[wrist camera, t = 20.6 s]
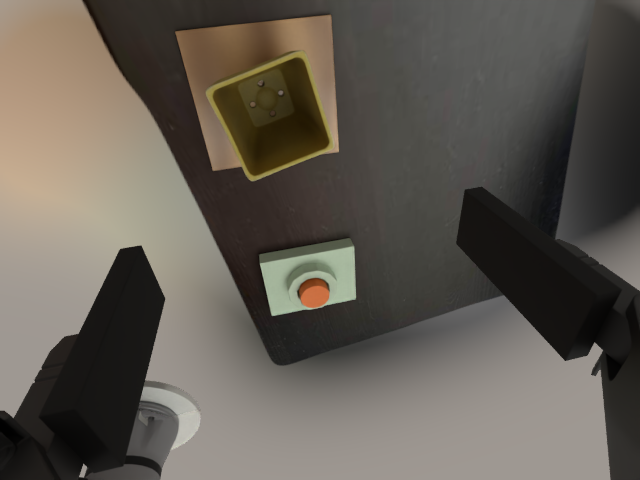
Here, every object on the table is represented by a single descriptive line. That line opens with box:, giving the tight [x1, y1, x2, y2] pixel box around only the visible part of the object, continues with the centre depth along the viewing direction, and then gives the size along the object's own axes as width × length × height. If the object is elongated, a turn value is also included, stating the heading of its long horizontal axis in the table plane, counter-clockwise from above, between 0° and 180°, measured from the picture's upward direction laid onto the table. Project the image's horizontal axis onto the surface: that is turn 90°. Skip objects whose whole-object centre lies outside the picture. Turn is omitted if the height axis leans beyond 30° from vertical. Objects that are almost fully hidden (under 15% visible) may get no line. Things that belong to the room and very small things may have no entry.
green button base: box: [259, 238, 356, 316], centre depth 51 cm, size 13×10×4 cm
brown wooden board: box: [175, 15, 339, 171], centre depth 38 cm, size 15×14×1 cm
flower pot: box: [206, 50, 334, 181], centre depth 34 cm, size 9×9×9 cm
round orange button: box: [299, 278, 329, 308], centre depth 49 cm, size 4×4×2 cm
